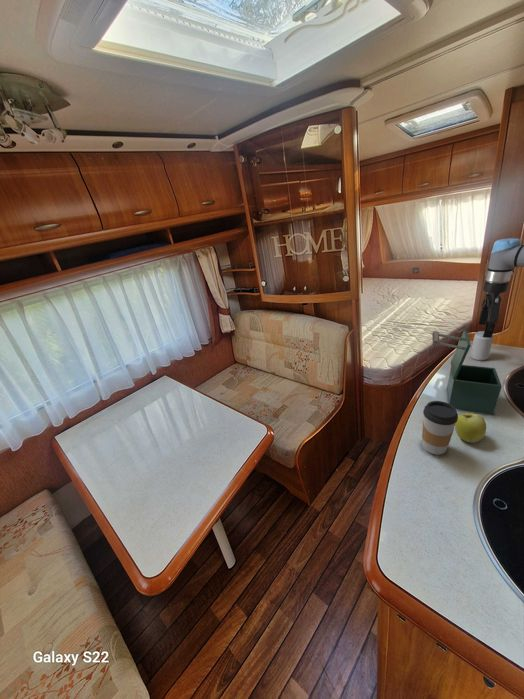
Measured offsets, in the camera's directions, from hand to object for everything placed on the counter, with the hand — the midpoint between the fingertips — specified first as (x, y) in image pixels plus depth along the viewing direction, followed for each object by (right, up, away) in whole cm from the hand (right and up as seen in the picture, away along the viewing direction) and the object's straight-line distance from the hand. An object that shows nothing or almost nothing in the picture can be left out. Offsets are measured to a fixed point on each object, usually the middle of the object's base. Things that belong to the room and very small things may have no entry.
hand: (484, 330), depth 116 cm
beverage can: (+2, -12, +6) cm, 14 cm away
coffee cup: (-43, -38, -33) cm, 66 cm away
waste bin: (-20, -27, -17) cm, 38 cm away
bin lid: (-27, -10, -23) cm, 37 cm away
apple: (-31, -36, -31) cm, 57 cm away
